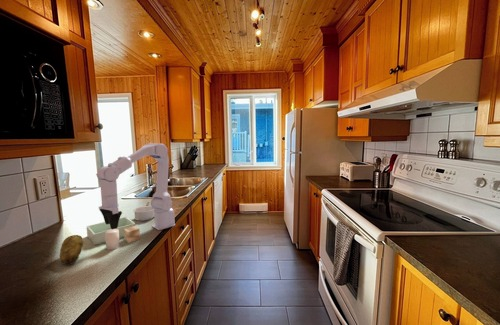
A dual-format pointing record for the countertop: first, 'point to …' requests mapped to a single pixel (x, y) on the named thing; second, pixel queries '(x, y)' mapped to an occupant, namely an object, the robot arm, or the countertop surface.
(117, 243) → the pale pink egg
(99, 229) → the tote
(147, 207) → the saucepan
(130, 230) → the maple cube
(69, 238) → the potato
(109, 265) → the countertop surface
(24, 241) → the countertop surface
